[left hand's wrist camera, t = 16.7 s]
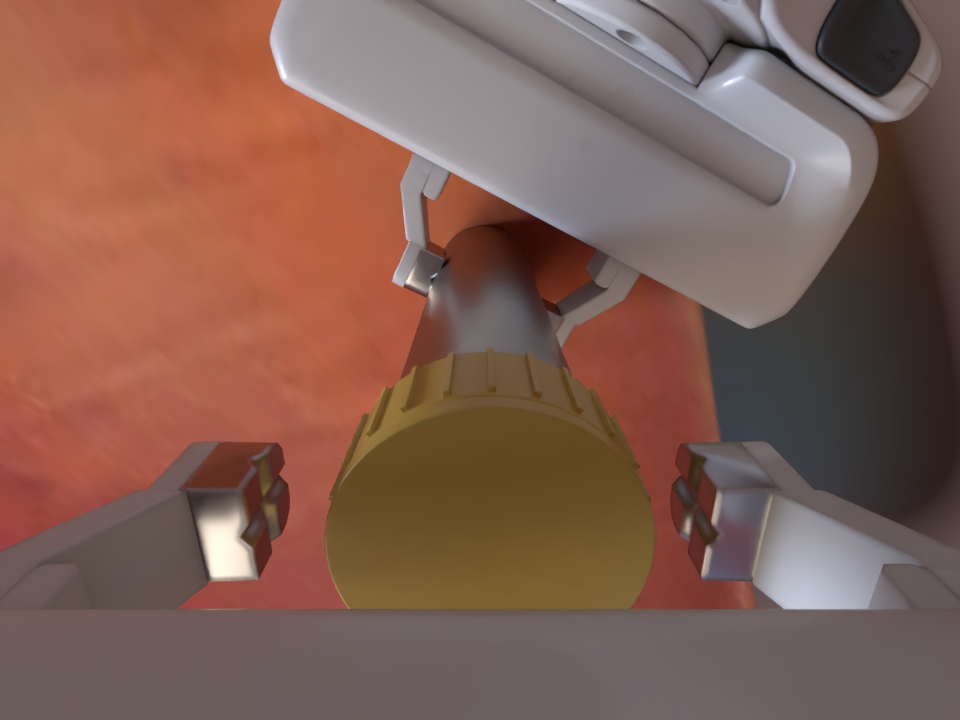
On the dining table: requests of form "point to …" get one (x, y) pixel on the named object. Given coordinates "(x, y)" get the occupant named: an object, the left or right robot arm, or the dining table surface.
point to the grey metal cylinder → (484, 304)
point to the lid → (489, 494)
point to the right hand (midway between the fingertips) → (474, 318)
